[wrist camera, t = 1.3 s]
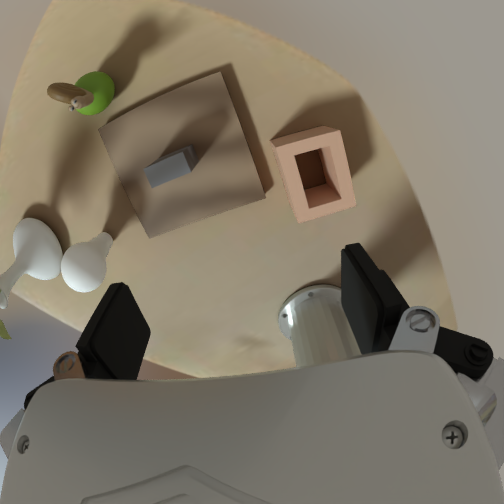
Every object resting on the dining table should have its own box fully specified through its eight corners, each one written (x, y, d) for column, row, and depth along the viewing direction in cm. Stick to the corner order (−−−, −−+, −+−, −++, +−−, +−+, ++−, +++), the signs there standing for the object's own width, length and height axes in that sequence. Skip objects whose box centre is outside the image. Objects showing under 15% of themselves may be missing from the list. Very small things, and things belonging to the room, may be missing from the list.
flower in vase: (14, 212, 33) (-83, 301, 11) (60, 214, 34) (-48, 325, 12) (31, 276, 39) (-38, 373, 17) (75, 285, 40) (7, 402, 19)
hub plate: (264, 194, 34) (270, 215, 28) (152, 233, 36) (136, 260, 30) (221, 73, 26) (215, 64, 20) (103, 127, 28) (75, 135, 22)
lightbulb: (105, 209, 34) (66, 248, 24) (134, 241, 37) (104, 288, 27) (83, 234, 36) (45, 275, 26) (110, 262, 38) (79, 309, 29)
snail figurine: (117, 121, 28) (63, 134, 18) (79, 106, 27) (20, 115, 16) (135, 82, 26) (85, 76, 16) (96, 68, 24) (38, 62, 14)
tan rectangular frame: (323, 125, 30) (340, 130, 25) (339, 189, 34) (356, 205, 29) (269, 140, 31) (275, 147, 26) (289, 204, 35) (298, 223, 30)
